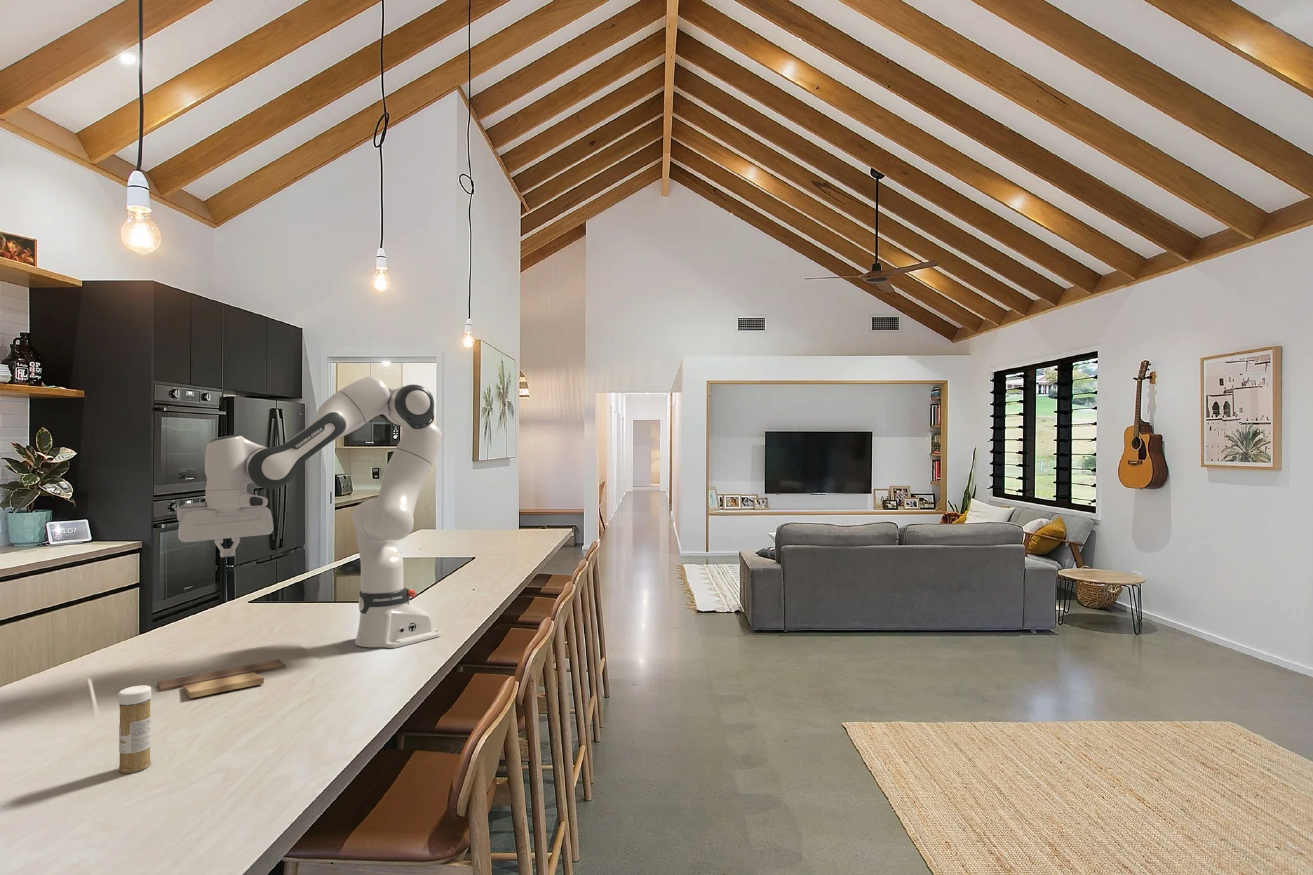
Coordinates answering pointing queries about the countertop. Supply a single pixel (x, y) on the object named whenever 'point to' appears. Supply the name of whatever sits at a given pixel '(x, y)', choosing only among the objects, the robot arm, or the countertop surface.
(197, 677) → the walnut floorboard
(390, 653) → the countertop surface
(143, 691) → the spice jar
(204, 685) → the oak plank
